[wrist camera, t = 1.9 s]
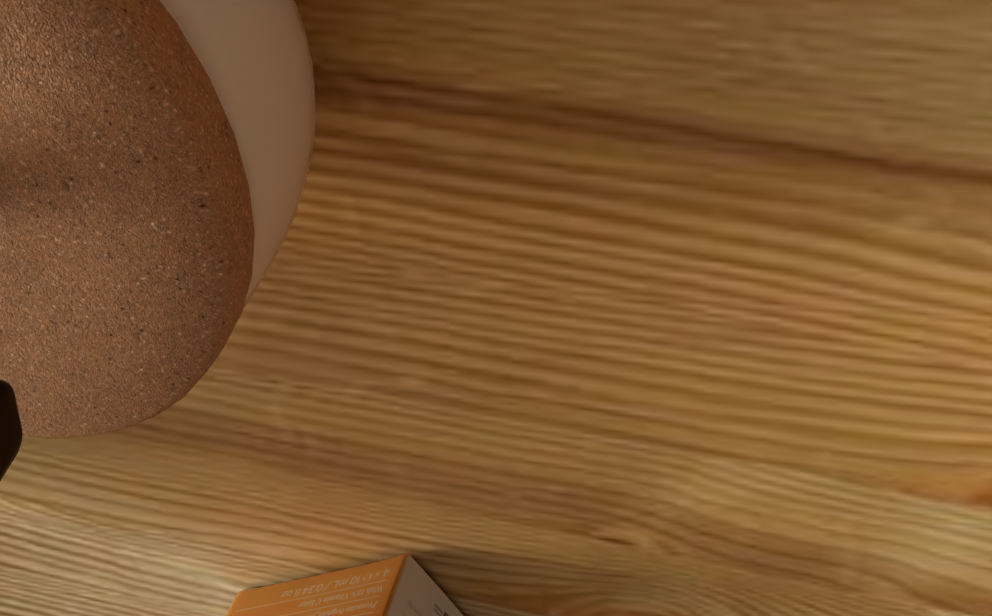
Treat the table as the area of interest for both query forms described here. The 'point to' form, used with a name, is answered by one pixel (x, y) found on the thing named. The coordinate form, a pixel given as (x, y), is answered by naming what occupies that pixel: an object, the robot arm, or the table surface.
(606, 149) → the table surface
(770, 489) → the table surface
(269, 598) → the small box
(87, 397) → the trinket box
